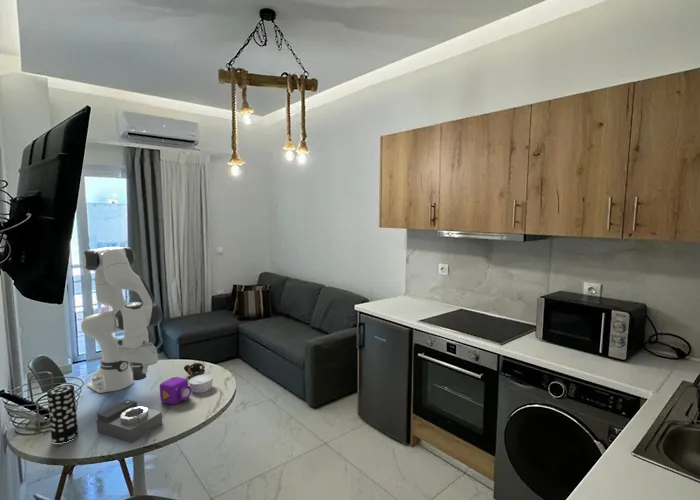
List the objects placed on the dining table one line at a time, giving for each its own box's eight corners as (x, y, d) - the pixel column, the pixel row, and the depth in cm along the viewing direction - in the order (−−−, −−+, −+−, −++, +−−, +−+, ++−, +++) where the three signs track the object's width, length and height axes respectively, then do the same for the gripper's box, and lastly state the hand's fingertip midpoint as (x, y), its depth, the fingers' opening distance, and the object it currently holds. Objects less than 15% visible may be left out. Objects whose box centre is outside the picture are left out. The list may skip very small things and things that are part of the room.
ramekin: (185, 394, 181) (185, 384, 181) (194, 384, 192) (194, 374, 192) (208, 394, 182) (208, 383, 181) (216, 383, 193) (216, 373, 192)
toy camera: (183, 407, 169) (182, 386, 168) (157, 404, 172) (155, 384, 171) (197, 396, 180) (196, 376, 179) (172, 393, 183) (171, 374, 182)
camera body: (97, 431, 151) (96, 413, 151) (129, 413, 164) (128, 397, 163) (131, 442, 144) (130, 423, 143) (162, 423, 156) (161, 406, 156)
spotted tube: (48, 447, 141) (43, 396, 139) (55, 435, 149) (51, 387, 147) (75, 441, 145) (70, 392, 143) (80, 430, 152) (76, 383, 150)
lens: (130, 379, 159) (128, 363, 158) (140, 374, 164) (139, 358, 163) (138, 381, 157) (137, 364, 156) (149, 376, 162) (147, 360, 161)
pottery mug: (208, 372, 207) (208, 363, 203) (200, 386, 199) (199, 377, 195) (188, 367, 208) (187, 357, 203) (178, 380, 200) (177, 371, 195)
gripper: (160, 340, 158) (163, 372, 159) (127, 336, 166) (129, 366, 167) (147, 345, 152) (150, 378, 153) (113, 340, 160) (116, 371, 161)
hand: (139, 372), depth 160 cm, fingers closed on lens, 5 cm apart
